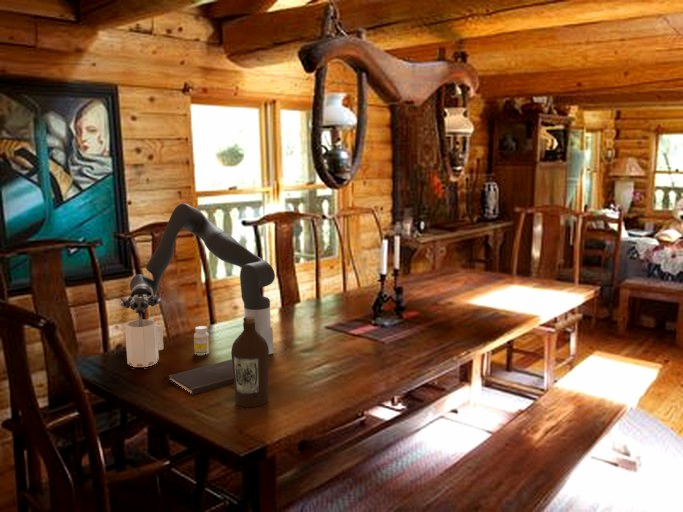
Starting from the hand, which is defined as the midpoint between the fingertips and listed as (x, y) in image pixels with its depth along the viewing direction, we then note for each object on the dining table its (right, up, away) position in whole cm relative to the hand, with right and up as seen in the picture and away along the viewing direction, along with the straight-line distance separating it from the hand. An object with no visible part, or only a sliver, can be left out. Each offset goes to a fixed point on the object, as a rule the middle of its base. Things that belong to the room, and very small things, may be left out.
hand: (139, 306), depth 199 cm
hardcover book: (+27, -23, -8) cm, 36 cm away
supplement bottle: (+17, -19, +17) cm, 30 cm away
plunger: (-1, -16, +5) cm, 17 cm away
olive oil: (+41, -25, -26) cm, 55 cm away
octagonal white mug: (0, -20, +7) cm, 21 cm away
